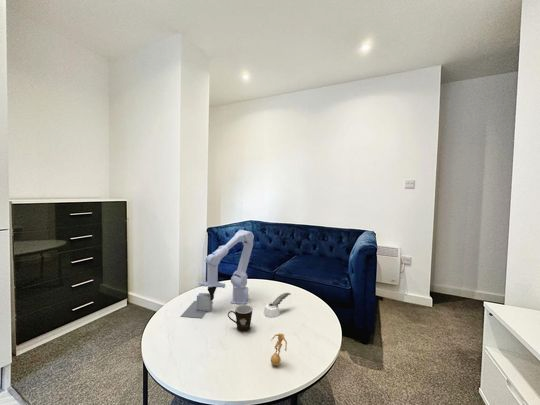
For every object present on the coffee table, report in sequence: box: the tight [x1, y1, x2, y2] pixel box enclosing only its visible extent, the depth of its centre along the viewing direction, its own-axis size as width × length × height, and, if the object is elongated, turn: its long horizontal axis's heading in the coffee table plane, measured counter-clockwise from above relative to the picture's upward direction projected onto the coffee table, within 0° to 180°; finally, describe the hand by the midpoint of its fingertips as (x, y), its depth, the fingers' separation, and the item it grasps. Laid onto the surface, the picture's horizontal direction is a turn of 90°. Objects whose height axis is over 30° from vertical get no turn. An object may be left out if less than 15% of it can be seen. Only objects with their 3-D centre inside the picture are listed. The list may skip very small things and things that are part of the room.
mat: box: [180, 300, 214, 319], centre depth 136 cm, size 12×18×1 cm, turn 174°
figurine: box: [270, 332, 288, 367], centre depth 95 cm, size 8×6×12 cm
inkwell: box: [263, 292, 291, 318], centre depth 136 cm, size 9×18×10 cm, turn 124°
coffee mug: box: [227, 304, 253, 333], centre depth 119 cm, size 12×9×10 cm
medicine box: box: [196, 292, 213, 312], centre depth 135 cm, size 8×4×9 cm, turn 85°
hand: (212, 299), depth 134 cm, fingers closed, pressing on medicine box
